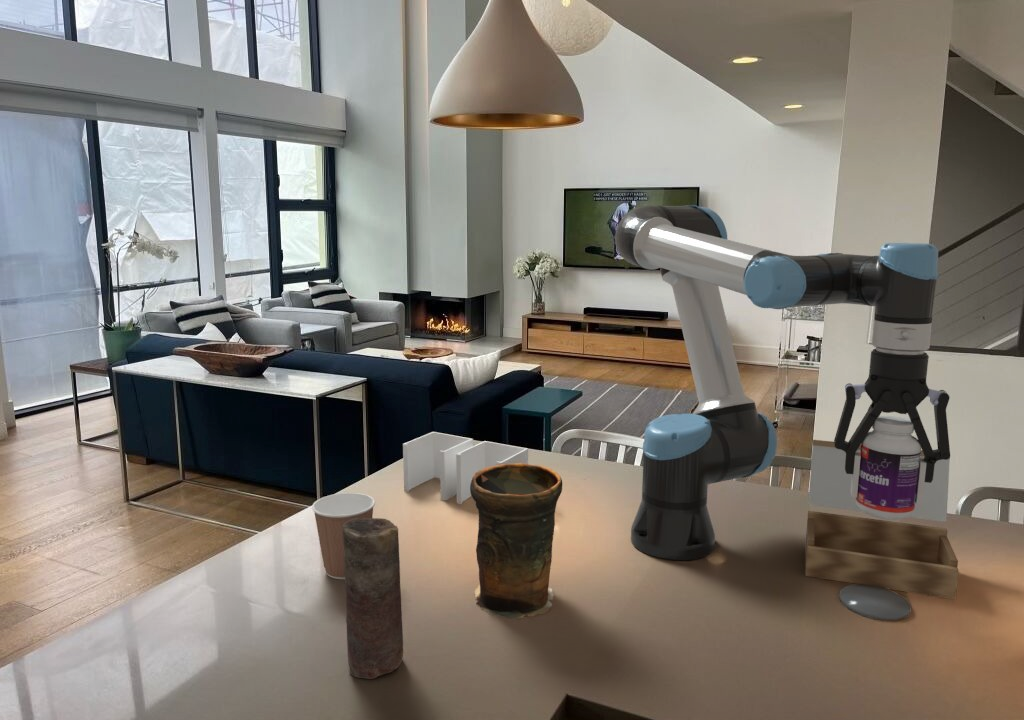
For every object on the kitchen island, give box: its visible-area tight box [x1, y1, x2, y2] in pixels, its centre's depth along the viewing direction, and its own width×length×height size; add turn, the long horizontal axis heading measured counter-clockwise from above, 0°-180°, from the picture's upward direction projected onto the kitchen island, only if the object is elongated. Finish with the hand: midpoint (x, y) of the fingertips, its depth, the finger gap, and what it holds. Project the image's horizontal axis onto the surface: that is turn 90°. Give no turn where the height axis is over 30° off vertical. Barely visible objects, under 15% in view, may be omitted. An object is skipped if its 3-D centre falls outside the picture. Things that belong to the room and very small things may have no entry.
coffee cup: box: [311, 492, 376, 580], centre depth 126 cm, size 10×10×12 cm
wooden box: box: [804, 510, 959, 600], centre depth 127 cm, size 22×12×7 cm, turn 69°
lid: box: [808, 439, 951, 523], centre depth 133 cm, size 22×12×1 cm
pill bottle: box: [856, 415, 922, 521], centre depth 112 cm, size 8×8×14 cm
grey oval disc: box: [839, 584, 912, 621], centre depth 117 cm, size 10×10×1 cm
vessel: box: [470, 463, 563, 620], centre depth 117 cm, size 14×14×20 cm
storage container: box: [402, 431, 529, 505], centre depth 162 cm, size 25×11×11 cm, turn 60°
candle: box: [343, 517, 404, 680], centre depth 99 cm, size 8×7×20 cm
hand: (885, 497), depth 113 cm, fingers closed on pill bottle, 8 cm apart
